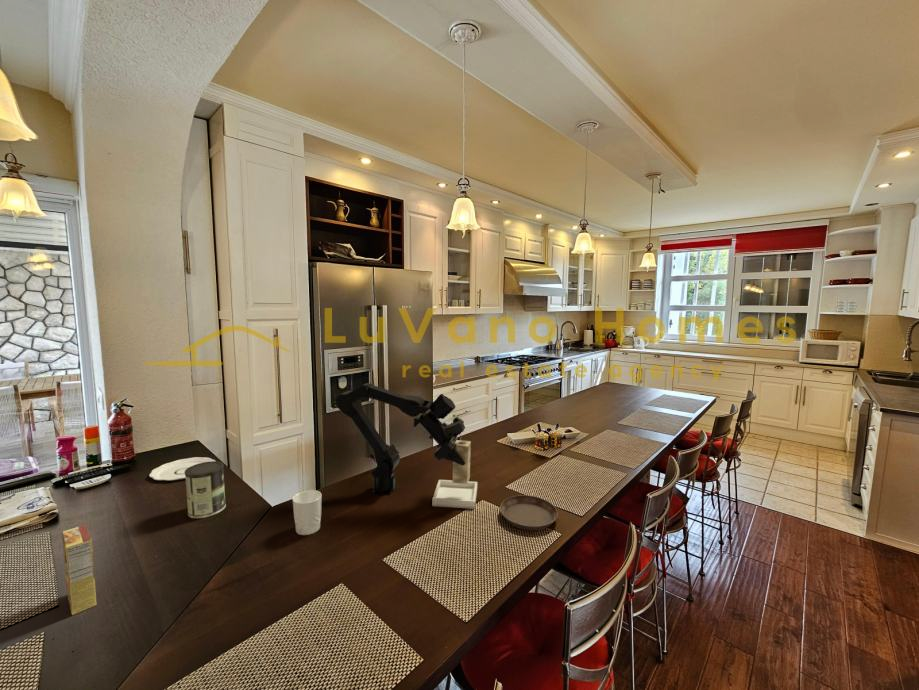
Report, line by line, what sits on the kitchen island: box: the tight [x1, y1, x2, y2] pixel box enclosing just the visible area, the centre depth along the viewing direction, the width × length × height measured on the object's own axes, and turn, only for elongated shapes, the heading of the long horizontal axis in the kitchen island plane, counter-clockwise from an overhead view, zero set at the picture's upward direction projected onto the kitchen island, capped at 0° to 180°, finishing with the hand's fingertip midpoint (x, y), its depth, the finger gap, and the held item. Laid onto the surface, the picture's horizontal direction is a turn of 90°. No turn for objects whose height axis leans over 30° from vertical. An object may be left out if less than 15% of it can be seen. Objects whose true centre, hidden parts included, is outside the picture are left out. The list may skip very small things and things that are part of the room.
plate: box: [148, 456, 216, 481], centre depth 151 cm, size 21×21×2 cm
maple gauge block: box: [452, 439, 472, 484], centre depth 131 cm, size 5×5×13 cm
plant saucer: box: [499, 494, 559, 532], centre depth 121 cm, size 18×18×3 cm
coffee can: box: [184, 460, 227, 519], centre depth 123 cm, size 10×10×14 cm
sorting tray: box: [431, 479, 478, 510], centre depth 133 cm, size 14×14×2 cm
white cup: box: [292, 489, 322, 536], centre depth 113 cm, size 8×8×10 cm
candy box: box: [61, 524, 97, 616], centre depth 85 cm, size 9×4×15 cm, turn 50°
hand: (465, 461), depth 131 cm, fingers closed on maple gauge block, 5 cm apart
